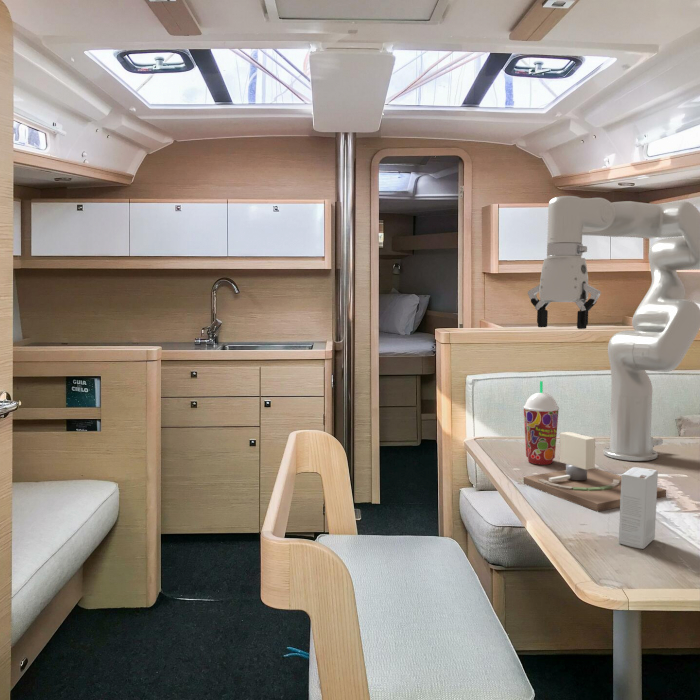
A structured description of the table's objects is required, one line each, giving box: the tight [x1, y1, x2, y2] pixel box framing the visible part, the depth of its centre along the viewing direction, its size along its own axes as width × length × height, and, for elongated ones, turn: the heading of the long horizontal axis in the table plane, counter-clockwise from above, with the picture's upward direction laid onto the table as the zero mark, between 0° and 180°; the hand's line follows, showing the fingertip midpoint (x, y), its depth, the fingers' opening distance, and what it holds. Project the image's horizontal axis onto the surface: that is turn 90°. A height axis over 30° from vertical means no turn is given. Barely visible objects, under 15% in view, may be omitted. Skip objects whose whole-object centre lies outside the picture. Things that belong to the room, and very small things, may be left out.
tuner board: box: [522, 467, 667, 512], centre depth 143 cm, size 19×21×2 cm
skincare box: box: [618, 466, 659, 550], centre depth 113 cm, size 6×4×12 cm
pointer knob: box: [549, 431, 596, 482], centre depth 144 cm, size 10×8×9 cm
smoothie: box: [523, 380, 560, 466], centre depth 165 cm, size 8×8×20 cm
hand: (561, 327), depth 154 cm, fingers open, 9 cm apart
